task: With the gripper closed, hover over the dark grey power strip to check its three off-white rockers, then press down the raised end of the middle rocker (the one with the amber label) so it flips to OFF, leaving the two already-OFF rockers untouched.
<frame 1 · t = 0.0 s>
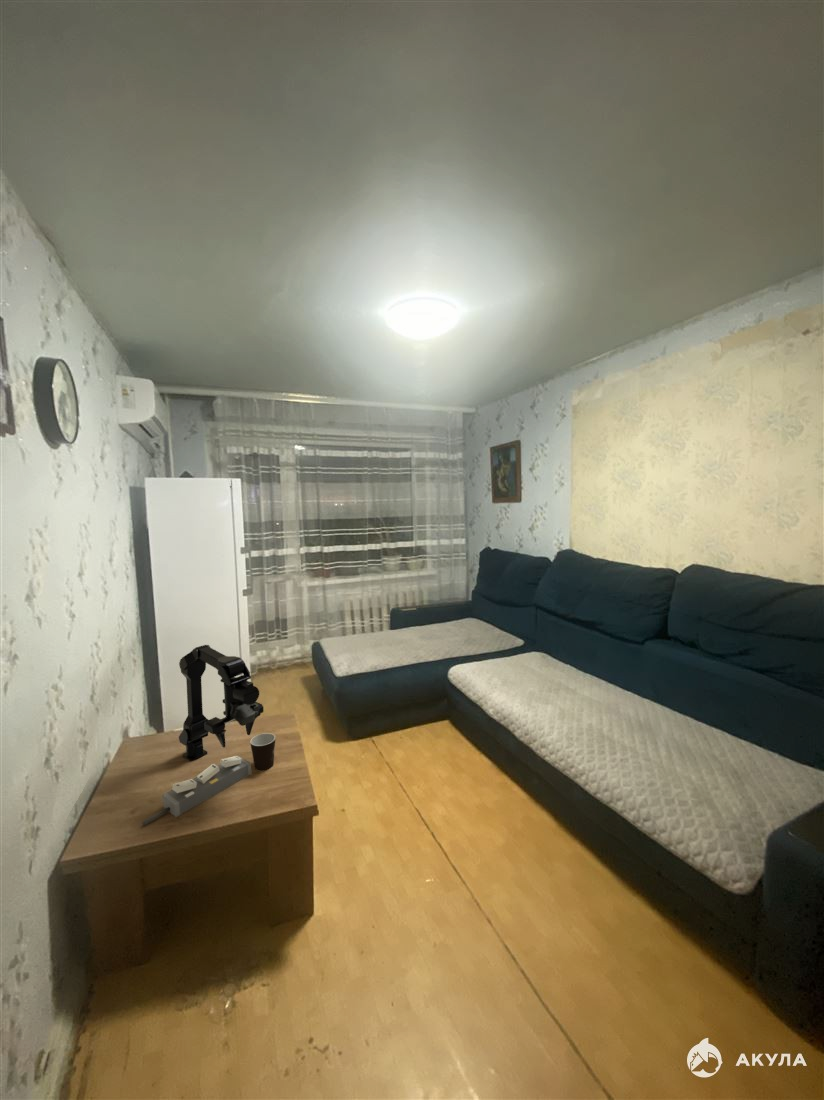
hand: (236, 740, 149), 15 cm above the table, fingers open, 9 cm apart
rocker 3: (230, 761, 152), point 6 cm above the table, hinge at -15.0°
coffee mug: (266, 763, 161), on the table
rocker 1: (184, 785, 139), point 6 cm above the table, hinge at -15.0°
power strip: (209, 789, 146), on the table
rocker 2: (208, 773, 146), point 6 cm above the table, hinge at 15.0°
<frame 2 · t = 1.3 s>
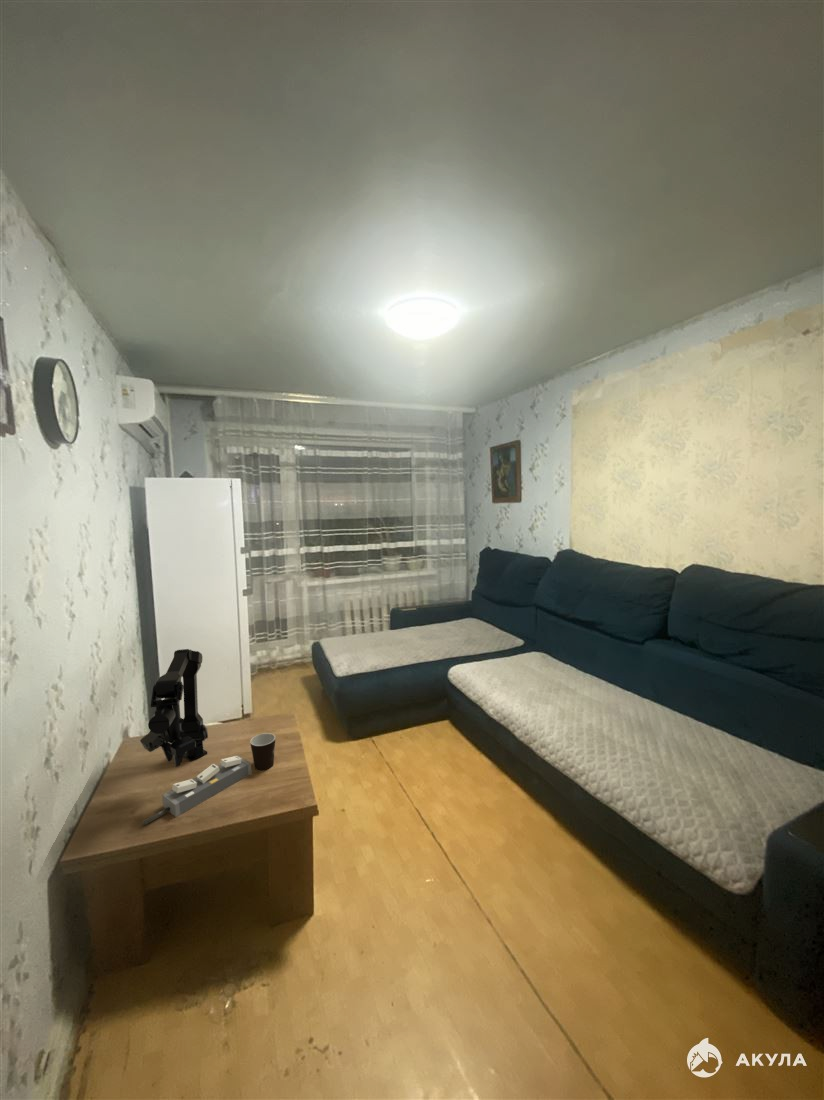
hand: (173, 763, 142), 11 cm above the table, fingers open, 5 cm apart
nothing on the table moved.
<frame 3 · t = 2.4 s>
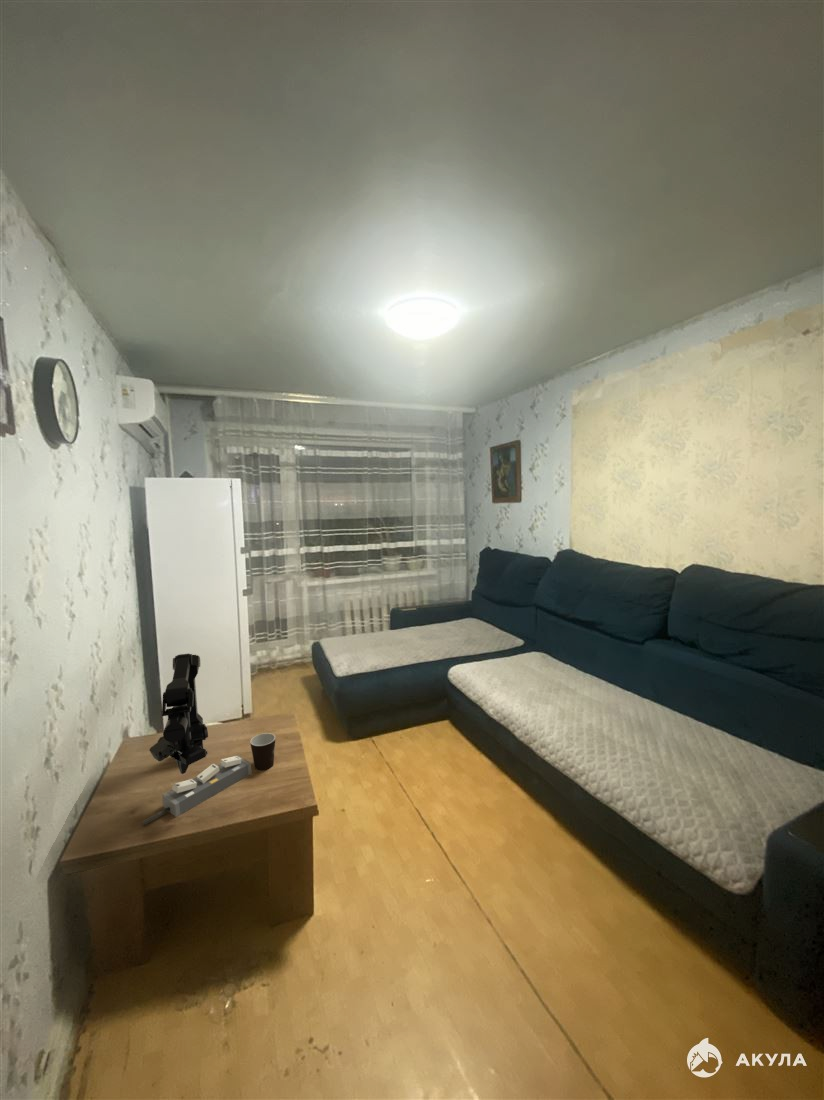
hand: (183, 773, 139), 10 cm above the table, fingers closed
nothing on the table moved.
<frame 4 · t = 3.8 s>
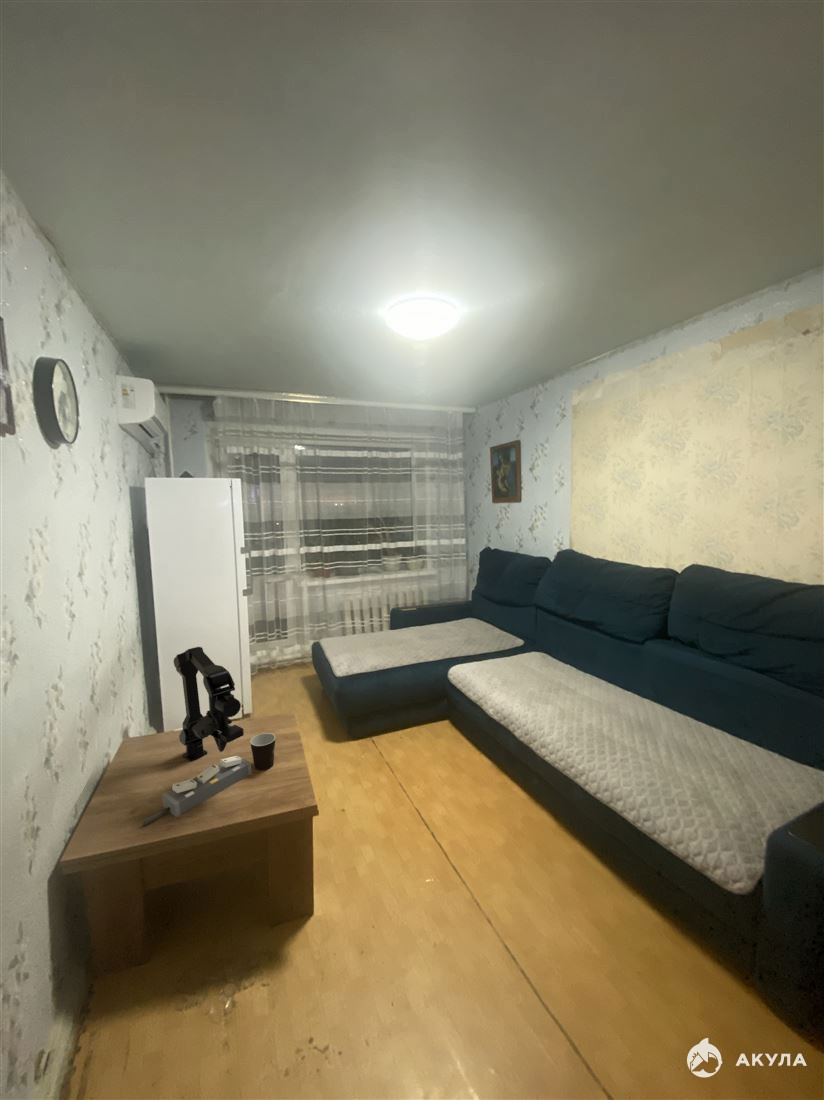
hand: (221, 751, 149), 11 cm above the table, fingers closed
nothing on the table moved.
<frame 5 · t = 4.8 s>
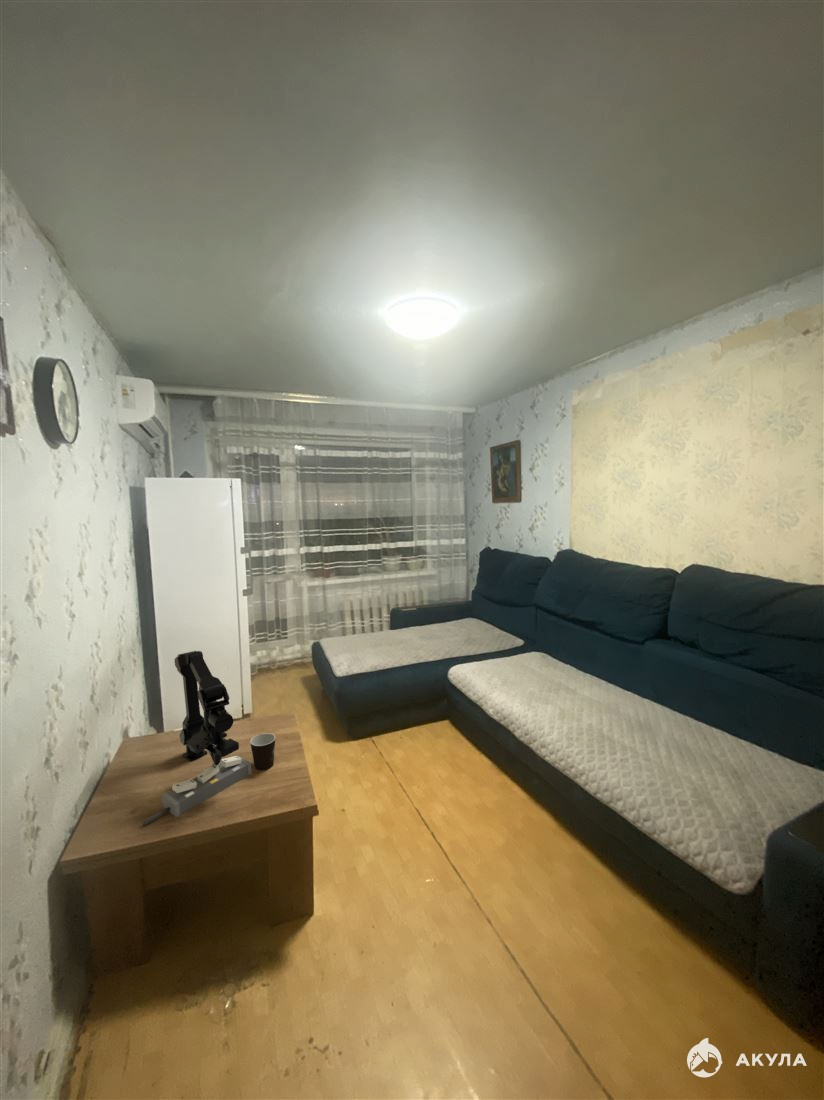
hand: (216, 764, 148), 7 cm above the table, fingers closed, pressing on rocker 2
rocker 2: (208, 773, 146), point 6 cm above the table, hinge at 12.5°, touching gripper
everything else where it was.
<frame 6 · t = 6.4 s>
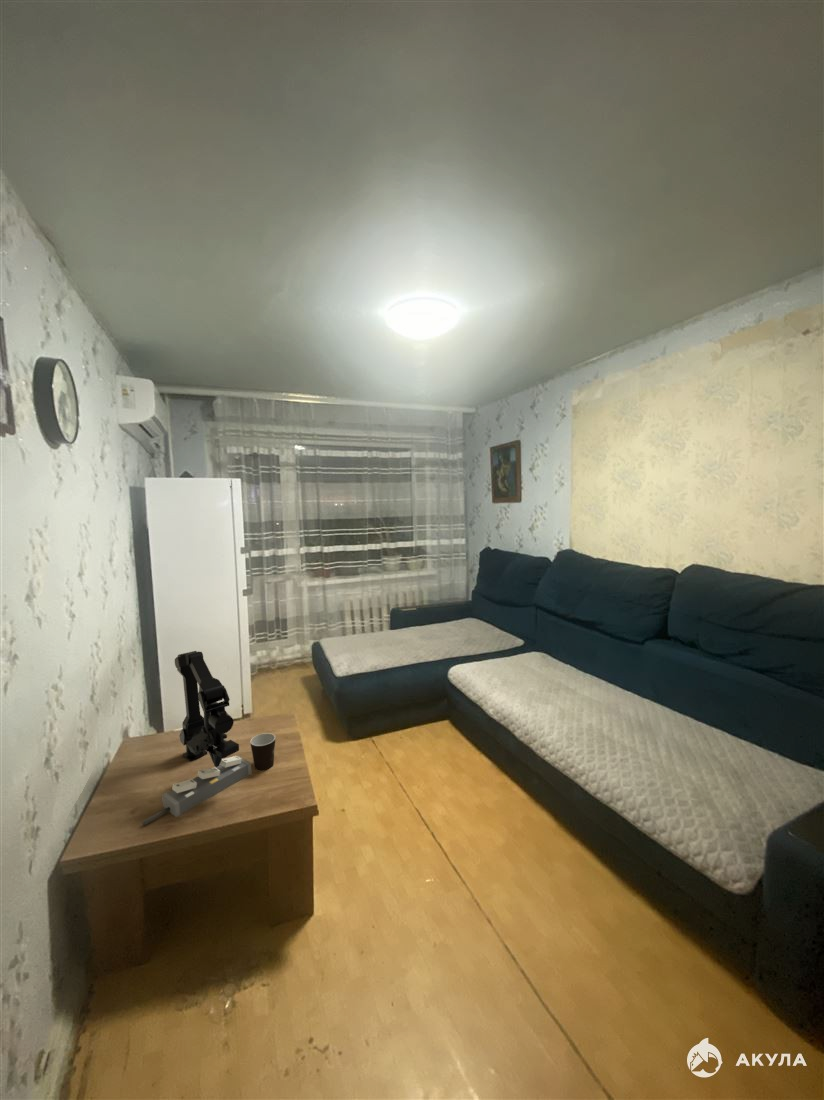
hand: (216, 766, 148), 7 cm above the table, fingers closed
rocker 2: (208, 773, 146), point 6 cm above the table, hinge at -17.9°
everything else where it was.
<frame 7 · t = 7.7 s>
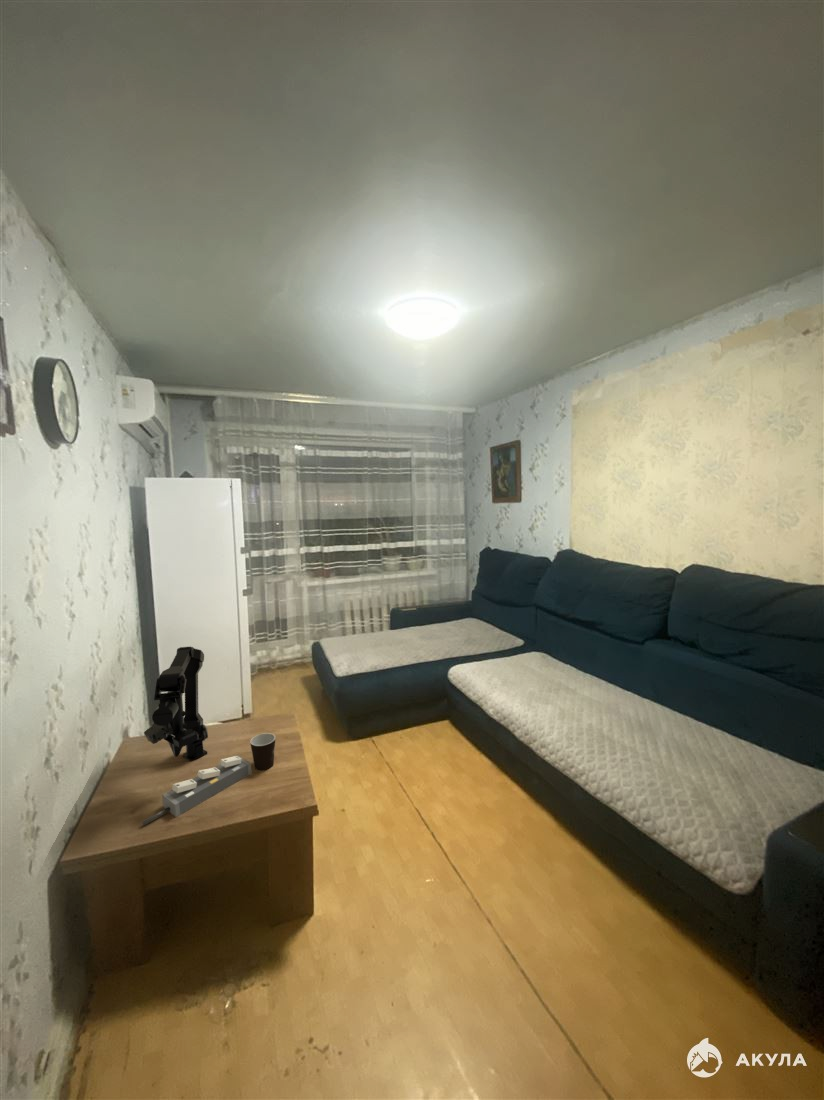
hand: (176, 756, 145), 12 cm above the table, fingers closed
nothing on the table moved.
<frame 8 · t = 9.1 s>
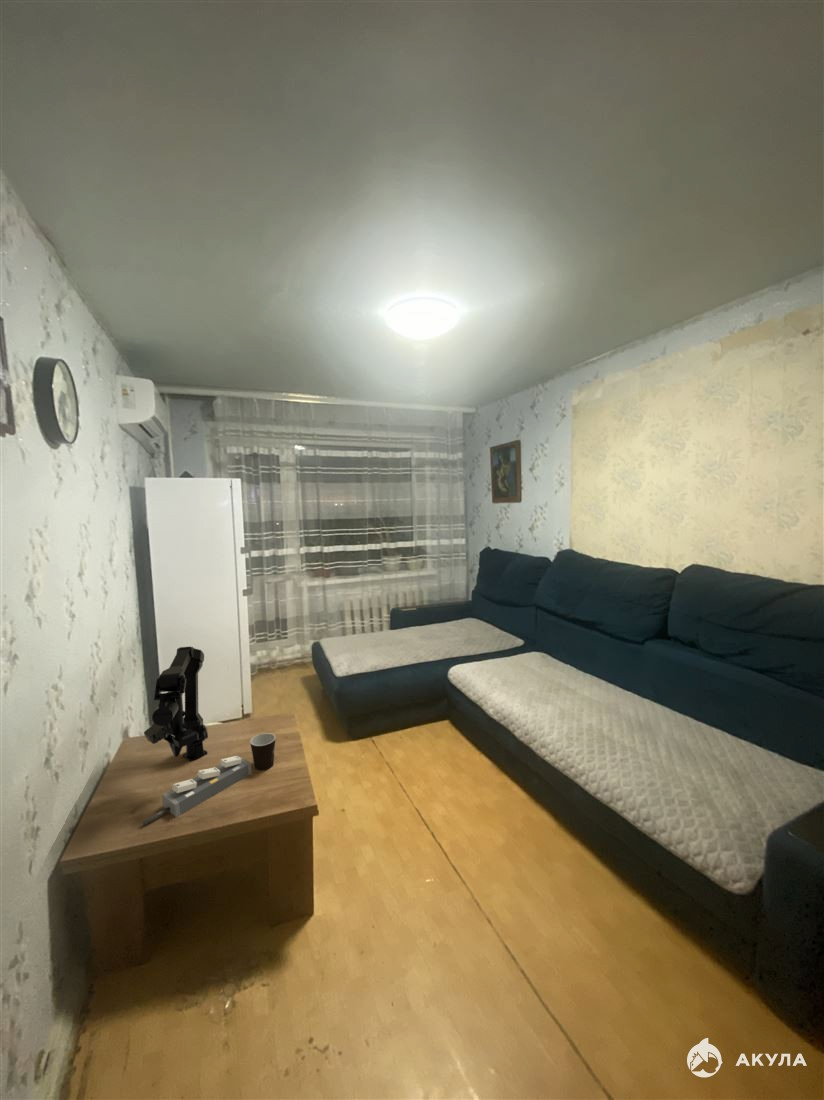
hand: (176, 756, 145), 12 cm above the table, fingers closed
nothing on the table moved.
at the end: rocker 2 at -18° (first picture: +15°); rocker 1 at -15° (first picture: -15°); rocker 3 at -15° (first picture: -15°) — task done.
